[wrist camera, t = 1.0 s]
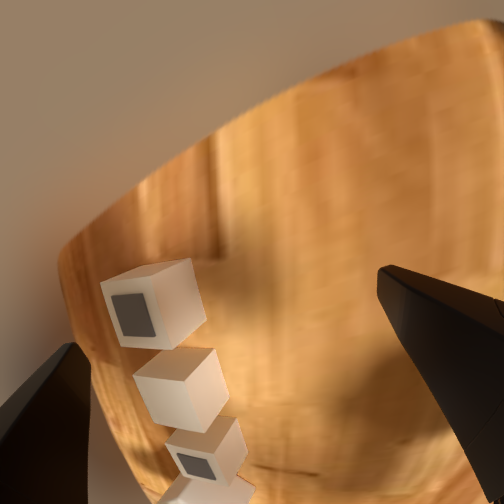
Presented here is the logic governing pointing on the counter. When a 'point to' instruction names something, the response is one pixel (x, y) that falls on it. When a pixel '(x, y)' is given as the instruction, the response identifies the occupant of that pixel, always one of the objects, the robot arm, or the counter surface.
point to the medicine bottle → (207, 492)
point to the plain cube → (183, 388)
